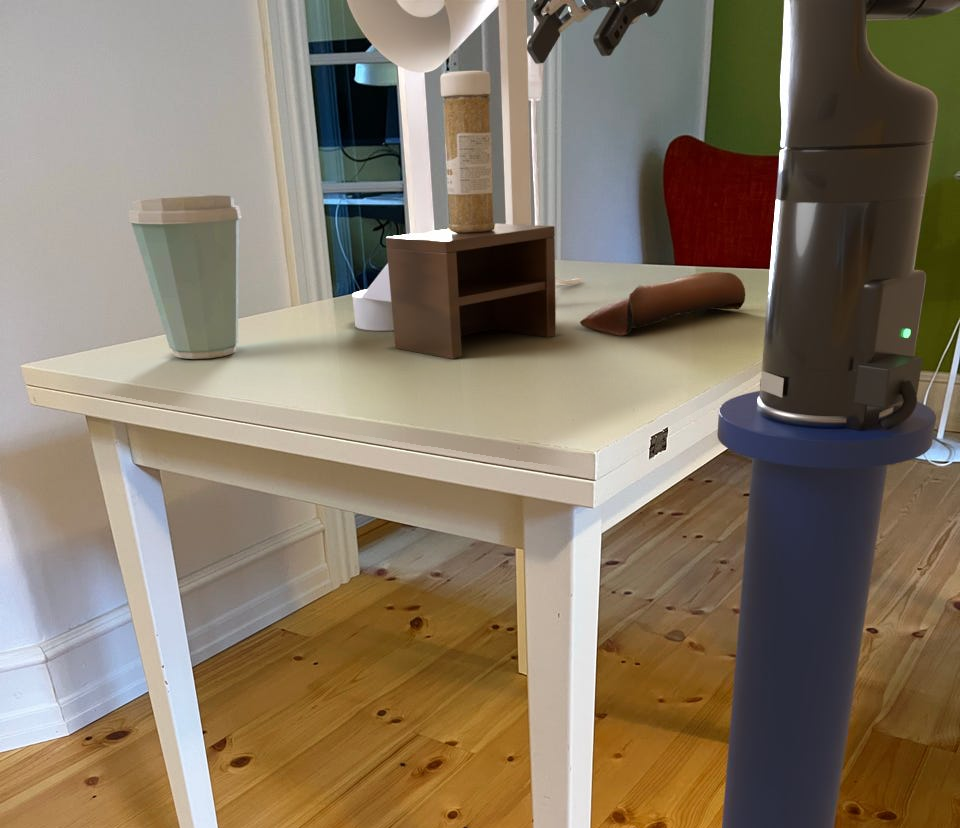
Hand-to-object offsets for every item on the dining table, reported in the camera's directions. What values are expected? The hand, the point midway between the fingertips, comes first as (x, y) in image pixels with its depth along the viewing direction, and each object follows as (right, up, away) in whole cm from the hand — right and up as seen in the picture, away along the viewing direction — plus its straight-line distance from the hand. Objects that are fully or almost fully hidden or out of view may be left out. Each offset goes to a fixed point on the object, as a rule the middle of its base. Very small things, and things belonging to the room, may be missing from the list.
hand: (566, 52), depth 92 cm
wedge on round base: (-16, -19, +19) cm, 32 cm away
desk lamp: (-7, -12, +33) cm, 35 cm away
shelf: (-8, -24, +9) cm, 27 cm away
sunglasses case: (+12, -20, +15) cm, 28 cm away
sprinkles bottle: (-9, -15, +4) cm, 18 cm away
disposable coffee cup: (-36, -25, +10) cm, 45 cm away
